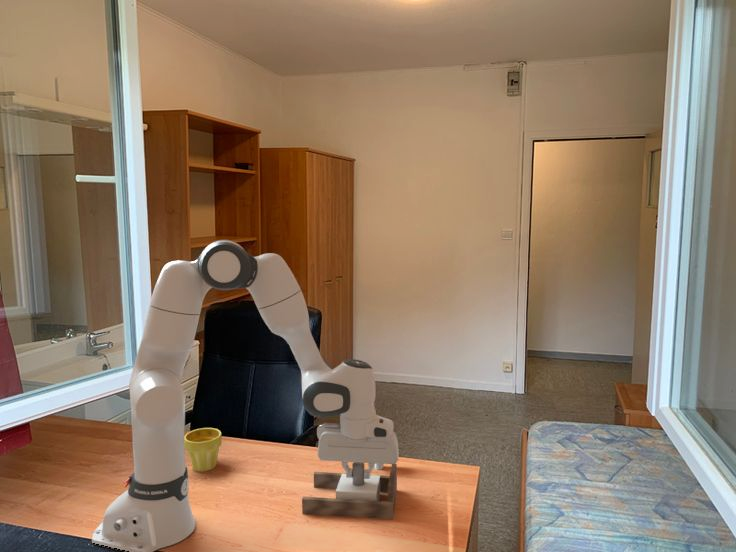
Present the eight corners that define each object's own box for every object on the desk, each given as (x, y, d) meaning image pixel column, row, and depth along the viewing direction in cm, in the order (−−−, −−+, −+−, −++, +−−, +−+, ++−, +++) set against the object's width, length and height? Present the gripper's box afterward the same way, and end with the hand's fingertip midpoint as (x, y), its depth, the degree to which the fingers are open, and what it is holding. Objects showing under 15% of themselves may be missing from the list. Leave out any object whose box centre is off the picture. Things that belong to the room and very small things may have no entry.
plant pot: (194, 478, 153) (193, 445, 152) (179, 465, 161) (178, 433, 159) (228, 467, 160) (227, 435, 158) (213, 455, 167) (211, 424, 166)
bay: (302, 517, 133) (301, 483, 132) (314, 488, 147) (314, 457, 146) (392, 523, 131) (392, 488, 130) (396, 493, 144) (396, 461, 143)
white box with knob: (335, 510, 135) (335, 471, 133) (342, 491, 144) (341, 455, 142) (376, 512, 133) (376, 473, 132) (380, 493, 142) (380, 457, 141)
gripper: (314, 427, 134) (315, 481, 136) (397, 431, 132) (397, 485, 133) (319, 418, 140) (320, 469, 142) (399, 421, 138) (399, 473, 139)
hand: (358, 477), depth 138 cm, fingers closed on white box with knob, 3 cm apart
